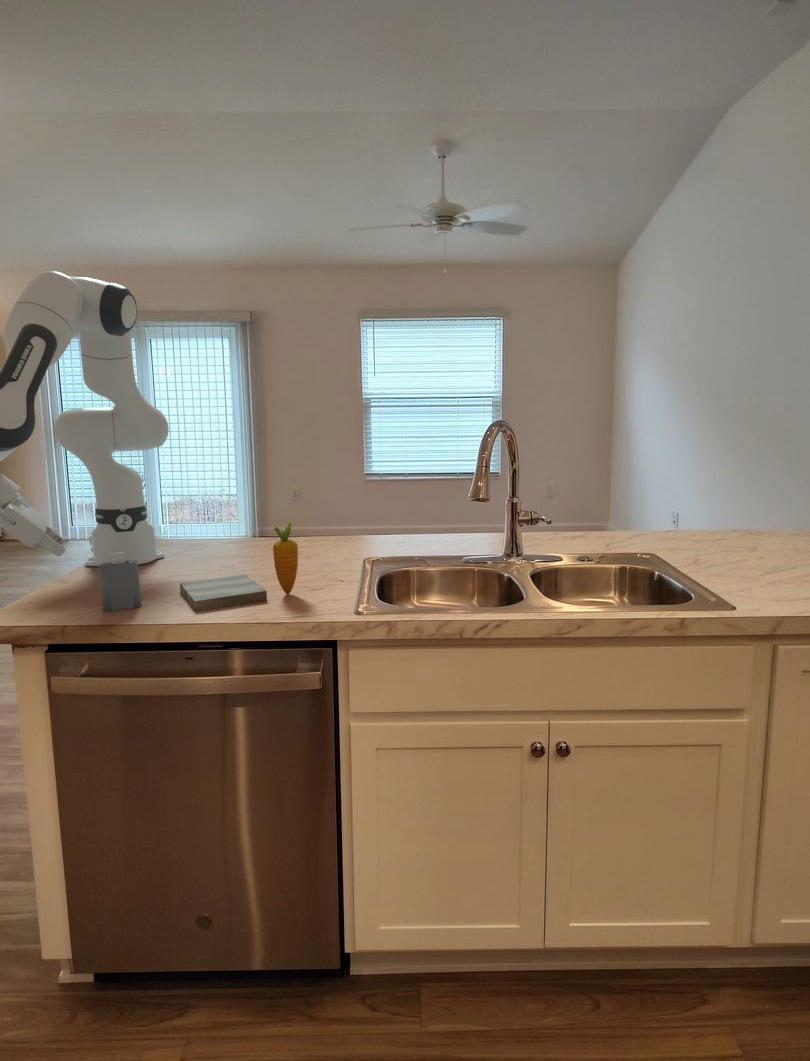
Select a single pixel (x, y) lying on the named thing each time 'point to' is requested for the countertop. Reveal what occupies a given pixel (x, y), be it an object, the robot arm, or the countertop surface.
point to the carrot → (285, 559)
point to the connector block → (119, 583)
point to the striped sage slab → (222, 592)
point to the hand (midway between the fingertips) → (62, 548)
